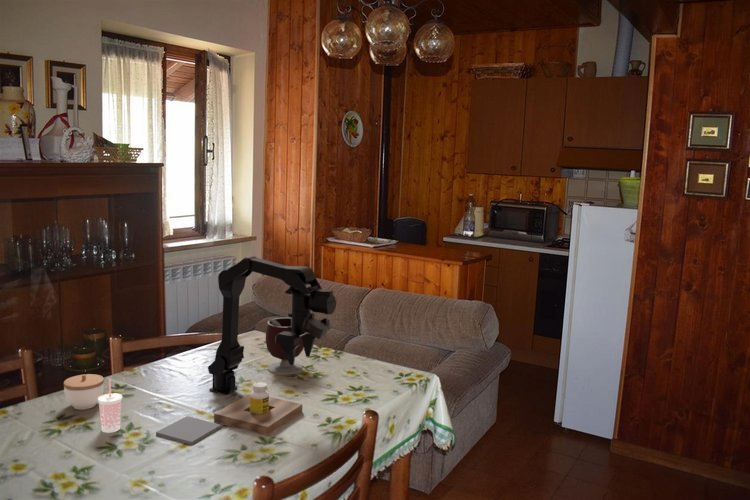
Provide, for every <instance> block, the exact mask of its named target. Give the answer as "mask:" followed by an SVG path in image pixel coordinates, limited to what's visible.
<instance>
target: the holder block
mask: <svg viewBox="0 0 750 500" xmlns="http://www.w3.org/2000/svg"><path fill="white" fill-rule="evenodd" d="M302 413H303V404H302V403H299V402H295V401H291V400H289V401H288V400H285V399H280V398H277V397H271V396H269V411H268V412H267V413H265V414H263V415H260V414H256V413H252V412H250V393H249V394H247V395H245V396H243V397H242V398H240V399H238V400H236V401H234V402H233V403H231V404H229V405H227V406H225V407H223V408H222V409H220V410H218V411H216V412H214V413H213V423H216V424H220V425H224V426H229V427H233V428H237V429H241V430H243V431H249V432H252V433H256V434H259V435H264V436H269V435H271V434H272V433H274V432H275V431H277V430H278V429H280V428H281V427H283V426H284V425H286V424H287V423H289V422H290V421H291V420H293V419H294V418H296V417H297V416H299V415H301V414H302Z"/></svg>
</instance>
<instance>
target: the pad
mask: <svg viewBox="0 0 750 500" xmlns="http://www.w3.org/2000/svg"><path fill="white" fill-rule="evenodd" d="M221 428H222V424H220V423H216V422H212V421H207V420H205V419H199V418H195V417H191V416H188V415H186V416H184V417H183V418H180V419H178V420H177V421H174V422H173V423H171V424H168V425H167V426H165V427H163V428H161V429H160V430H157V431H155V436H159V437H161V438H165V439H169V440H172V441H176V442H180V443H184V444H187V445H191V446H192V445H195V444H197V442H199V441H200V440H202V439H204V438H205V437H207V436H209V435H211V434H212V433H215V432H216V431H218V430H219V429H221Z"/></svg>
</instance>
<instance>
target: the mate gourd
mask: <svg viewBox="0 0 750 500" xmlns="http://www.w3.org/2000/svg"><path fill="white" fill-rule="evenodd" d="M289 326H291V317H278V318H277V317H276V318H267V325H266V329H265V343H266V348H267V351H268V352H269V354H270V355H271V356H272V357H274V358H276V359H279V360H281V361H278V362H273V363H270V364H269V365H267V372H269V373H271V374H274V375H280V376H289V375H290V376H291V375H295V374H299V373H301V372H302V371H303V365H301V364H300V363H298V362H294V365H290V364H289V362H288V360H287V357H286V355H285V353H284V351H283V350H282V348H281V346H280V345H278V344H277V343H275V336H276V335H277V334H279V333H281V332H284V331H287V332H292V331H290V330H288V327H289ZM299 344H300V345H299V346H298V347H297V348H296V352H295V358H297V357H299V356H300V355H301V353H302V352H303V351H304V346H303V341H302V336H300V342H299Z"/></svg>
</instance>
